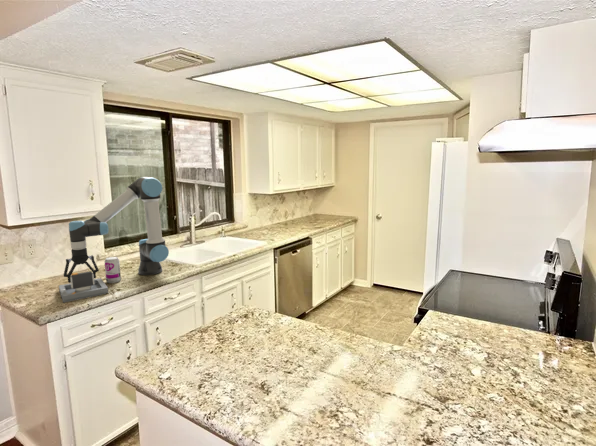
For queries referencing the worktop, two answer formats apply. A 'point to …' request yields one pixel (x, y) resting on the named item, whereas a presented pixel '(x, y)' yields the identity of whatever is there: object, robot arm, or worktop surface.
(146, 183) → the robot arm
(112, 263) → the supplement can
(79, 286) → the dial
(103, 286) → the dial panel
